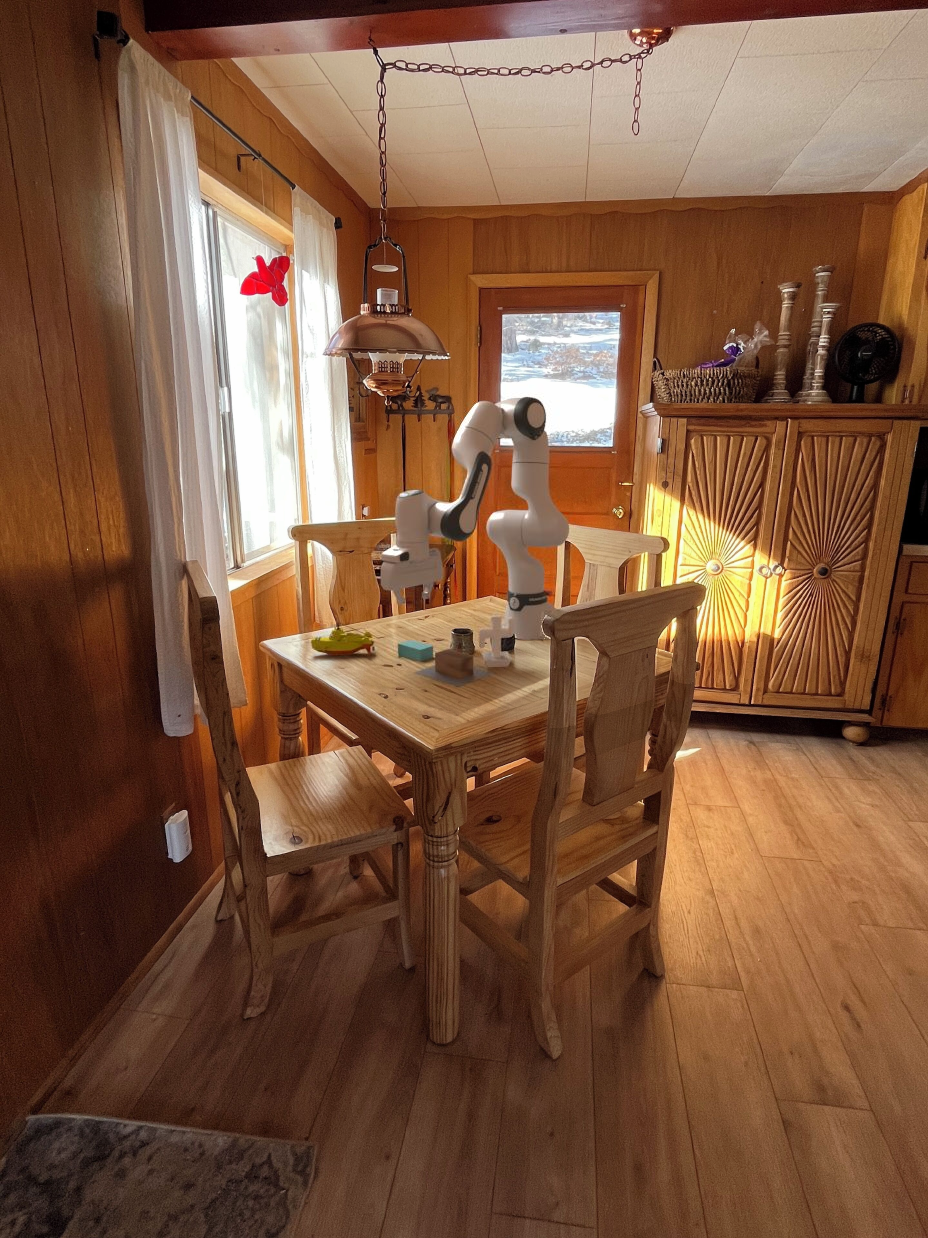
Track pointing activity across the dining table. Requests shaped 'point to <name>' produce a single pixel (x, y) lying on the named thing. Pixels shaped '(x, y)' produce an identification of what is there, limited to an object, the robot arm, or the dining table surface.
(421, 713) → the dining table surface
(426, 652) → the teal block
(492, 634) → the figurine
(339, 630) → the toy boat
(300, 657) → the dining table surface
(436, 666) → the walnut block
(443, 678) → the baseplate
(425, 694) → the dining table surface
